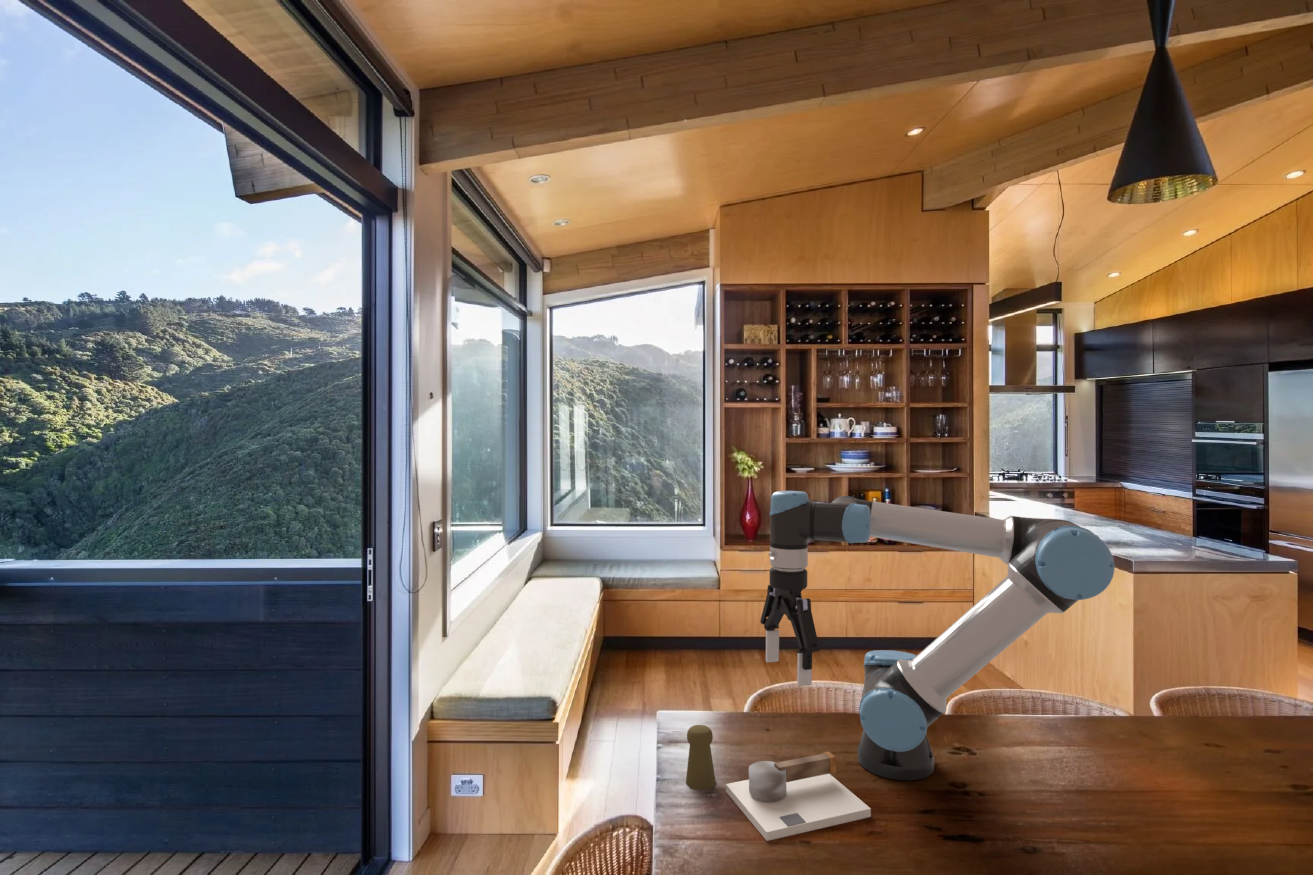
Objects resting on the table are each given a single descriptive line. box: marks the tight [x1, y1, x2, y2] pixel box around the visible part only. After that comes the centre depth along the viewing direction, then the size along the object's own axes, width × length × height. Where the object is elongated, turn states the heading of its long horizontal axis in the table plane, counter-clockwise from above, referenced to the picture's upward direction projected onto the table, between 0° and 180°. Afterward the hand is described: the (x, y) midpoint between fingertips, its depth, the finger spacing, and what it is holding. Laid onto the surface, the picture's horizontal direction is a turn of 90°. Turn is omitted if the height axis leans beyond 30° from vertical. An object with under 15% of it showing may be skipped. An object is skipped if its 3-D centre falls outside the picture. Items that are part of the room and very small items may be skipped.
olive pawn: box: [685, 724, 717, 791], centre depth 134 cm, size 6×6×11 cm
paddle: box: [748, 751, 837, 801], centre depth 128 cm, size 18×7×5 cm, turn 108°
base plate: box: [725, 774, 872, 842], centre depth 125 cm, size 21×17×2 cm
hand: (787, 672), depth 135 cm, fingers open, 13 cm apart
